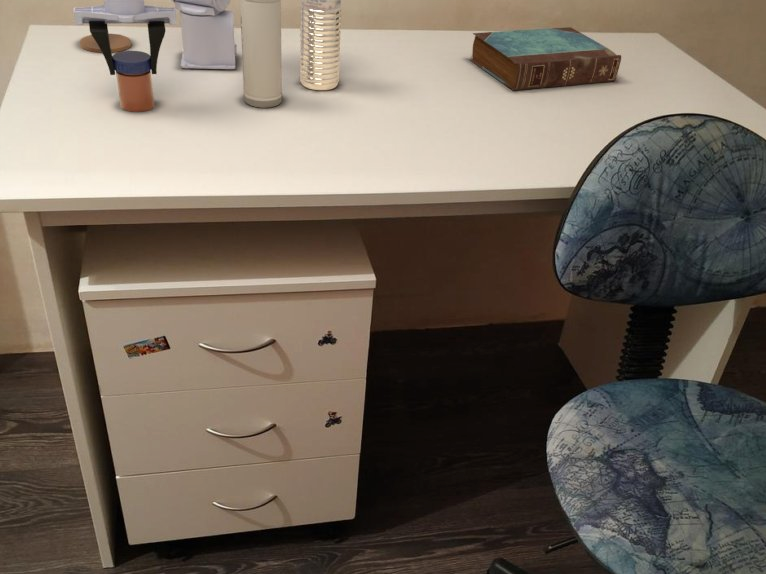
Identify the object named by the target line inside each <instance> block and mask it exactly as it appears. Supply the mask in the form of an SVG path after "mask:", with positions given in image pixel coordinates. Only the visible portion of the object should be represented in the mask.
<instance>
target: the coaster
mask: <svg viewBox="0 0 766 574" xmlns="http://www.w3.org/2000/svg"><path fill="white" fill-rule="evenodd" d="M108 34H109V41H110V48H111V53H118V52H122V51H127V50H128V49H129V48H131V47H132V40H131V39H130V38H129V37H127V36H125V35H122V34H118V33H108ZM79 45H80V48H82V49H83V50H86V51H87V52H88V51H89V52H93V53H100V54H101V53H102V51H101V49H100V48H99V46H98V44H97V42H96V41H95V39H94V38H93V36H92V35H91V34H90V35H87V36H83V37H82V38H81V39H80V40H79ZM102 54H103V53H102Z"/></svg>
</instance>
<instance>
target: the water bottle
mask: <svg viewBox="0 0 766 574" xmlns="http://www.w3.org/2000/svg"><path fill="white" fill-rule="evenodd" d="M299 9H300V11H299V21H300V22H299V80H300V83H301V85H302V86H303V87H304V88H305V89H309V90H313V91H331V90H333V89H335V88H337V86H338V84H339V80H340V60H341V59H340V57H341V55H340V54H341V33H342V32H341V29H342V25H341V24H342V0H300V4H299Z"/></svg>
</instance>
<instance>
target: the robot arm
mask: <svg viewBox="0 0 766 574" xmlns="http://www.w3.org/2000/svg"><path fill="white" fill-rule="evenodd" d="M170 1H171V2H172V3H173V4H174V6H175V7H164V6H155V5H146V4H145V0H103V4H102V5H91V6H82V7H81V6H80V7H79V6H77V7H75V6H74V7H73V10H72V12H73V19H74V25H75V26H83V25H84V24H85V25H86V24H87V25H88V27H89V33H90V35H92V36H93V38H94V39H95V41H96V42H97V44H98V46H99V48H100V49H101V51H102V55H103V57H104V59H105V62H106V65H107V67H108V71H109V75H110V76H115V75H116V71H115V70H114V65H113V59H112V56H113V52H111V48H110V41H109V34H110V33H109V27H108V24H121V25H122V24H125V25H126V24H147V32H148V40H149V41H148V42H149V55H150V57H151V70H150V71H151V75H157V73H158V72H157V67H158V58H159V53H160V49H161V46H162V43H163V40H164V38H165V35H166V24H168V25H170V26H177V25H178V20H177V11H176V10H179V19H180V29H181V38H182V39H181V42H182V52H181V60H180V68H182V69H201V70H202V69H207V70H208V69H209V70H235V69H236V56H237V55H238V49H237V48H238V46H237V44H236V43H235V24H234V11H233V10H227V7H228V6H229V5H230V3H231V0H170Z"/></svg>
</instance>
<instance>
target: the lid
mask: <svg viewBox="0 0 766 574" xmlns="http://www.w3.org/2000/svg"><path fill="white" fill-rule="evenodd" d="M112 59H113V65H114V70H115V72H116V71H117V72H120V73H124V74H142V73H146V72H148V71H151V57H150V53H147V52H145V51H141V50H123V51H119V52H114V54H112Z"/></svg>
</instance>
